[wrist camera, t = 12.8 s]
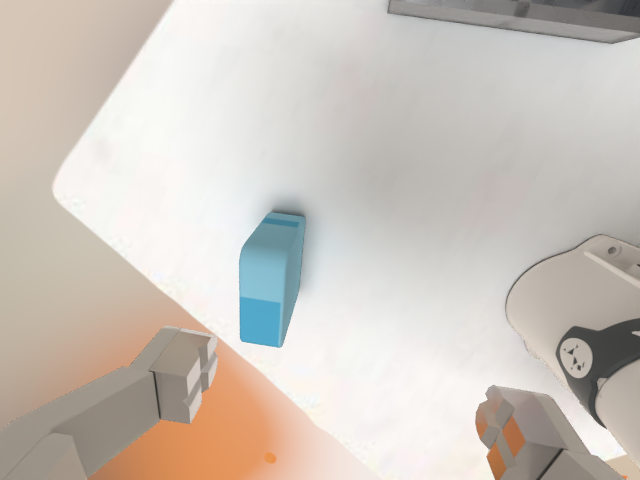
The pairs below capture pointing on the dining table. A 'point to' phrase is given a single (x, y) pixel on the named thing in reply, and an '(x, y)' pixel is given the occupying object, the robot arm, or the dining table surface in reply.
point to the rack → (536, 16)
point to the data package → (270, 278)
